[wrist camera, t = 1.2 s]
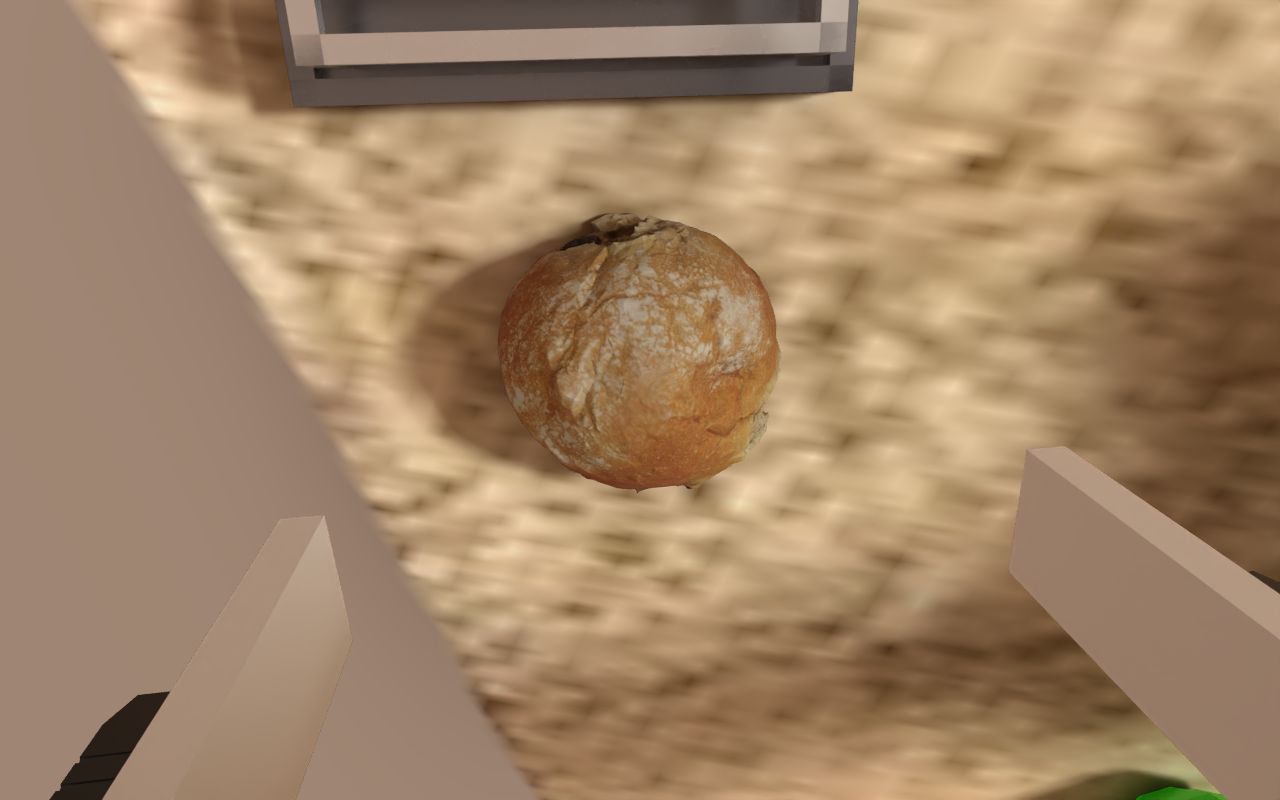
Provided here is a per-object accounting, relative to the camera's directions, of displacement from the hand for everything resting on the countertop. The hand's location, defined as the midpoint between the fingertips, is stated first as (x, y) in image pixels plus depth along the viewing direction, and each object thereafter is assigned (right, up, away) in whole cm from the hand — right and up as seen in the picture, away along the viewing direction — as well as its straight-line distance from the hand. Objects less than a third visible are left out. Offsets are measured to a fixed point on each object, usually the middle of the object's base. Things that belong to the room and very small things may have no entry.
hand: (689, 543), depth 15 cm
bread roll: (-1, +5, +16) cm, 16 cm away
